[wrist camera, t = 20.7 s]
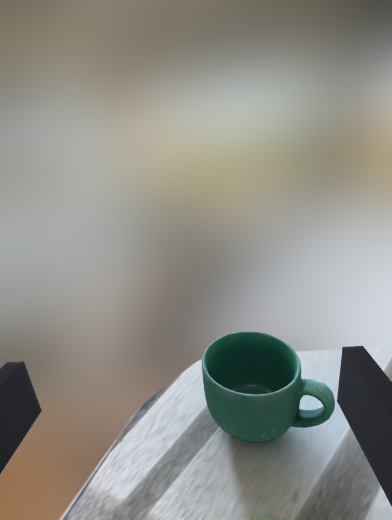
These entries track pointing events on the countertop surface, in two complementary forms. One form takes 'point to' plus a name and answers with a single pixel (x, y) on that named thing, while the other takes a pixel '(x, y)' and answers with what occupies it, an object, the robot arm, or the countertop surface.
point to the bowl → (267, 518)
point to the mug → (259, 387)
